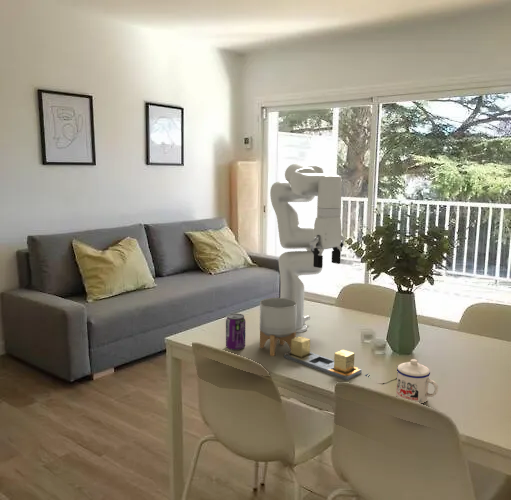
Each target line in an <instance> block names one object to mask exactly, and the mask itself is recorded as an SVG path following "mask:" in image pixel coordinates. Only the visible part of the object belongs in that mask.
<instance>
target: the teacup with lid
mask: <svg viewBox="0 0 511 500" xmlns="http://www.w3.org/2000/svg"><path fill="white" fill-rule="evenodd" d="M397 366H398V367H397V371H398V372H397V379H396V388H395V389H396V390H395V391H396V392H395V397H396V396H398V397H401V398H404V399H408V400H411V401H415V402H419V403H424V402H426V401H428V398H432V397H433V398H434V396H436V395H437V394H438V392H439V385H438V383H437V382H436V381H434V380H433V379H431V378H430V375H431V371H430V368H428V366H425V365H423V364H422V363H419V362H418V360H417V359H415V358H412V359H410V361H406V362H402V363H400V364H398V365H397ZM429 383H430V384H432V385H433V387H434V391H433V393H429ZM426 403H427V402H426ZM424 404H425V403H424Z"/></svg>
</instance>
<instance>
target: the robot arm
mask: <svg viewBox="0 0 511 500" xmlns="http://www.w3.org/2000/svg"><path fill="white" fill-rule="evenodd" d="M284 178H285V180H279V181H276V182H274V183H273V184H272V185H271V187H270V193H269V194H270V195H269V197H270V202H271V205H272V208H273V210H274V213H275V215H276V219H277V221H276V222H277V229H278V237H279V243H280V245H281V247H282V249H283V248H284V249H285V250H294V251H286V252H283V253H282V254H281V255H279V257H278V270H279V279H280V287H279V288H280V297H279V298H287V299H291V300H294V301H296V303H297V313H296V334H299V333H304V332H305V331H307V329H308V326H307V324H306V323H305V322H306V321H309V320H311V316H310V315H308V314H307V315H304V314H305V311H304V310H305V285H304V283H303V281H302V280H301V279H300V277H299V276H308V275H309V276H310V275H318V274H319V273H321V272H322V269H323V267H324V264H323V263H324V262H323V259H324V257H323V256H324V255H323V252H324V251H325V250H329V249H331V250H332V251H331V263H333V264H337V265H339V264H341V255H342V253H341V252H342V251H343V247H344V243H345V239H346V238H345V237H344V236H343V235H342V220H341V219H342V218H341V213H342V212H341V211H342V189H343V188H342V187H343V180H342V177H341V175H338V174H334V173H324V169H323V168H322V166H321V165H319V164H318V163H293V164H290V165H288V167H286V169H285V171H284ZM315 197H317V204H316V205H317V207H316V209H317V212H316V218H315V220H314V225H311V224H300V221H299V215H298V212H297V211H296V210H295V208H294V207H293V206H292V205H291V204H289V203H307V202H311V201H312V200H314V198H315ZM298 249H299V250H298ZM301 249H303V250H301ZM304 249H306V250H304ZM297 250H298V251H297Z"/></svg>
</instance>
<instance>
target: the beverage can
mask: <svg viewBox="0 0 511 500" xmlns="http://www.w3.org/2000/svg"><path fill="white" fill-rule="evenodd" d="M225 347H226V348H227V349H229V350H231V351H240V350H242V349H244V348H246V318H245V314H243V313H230V314H227V315H226V319H225Z"/></svg>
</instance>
